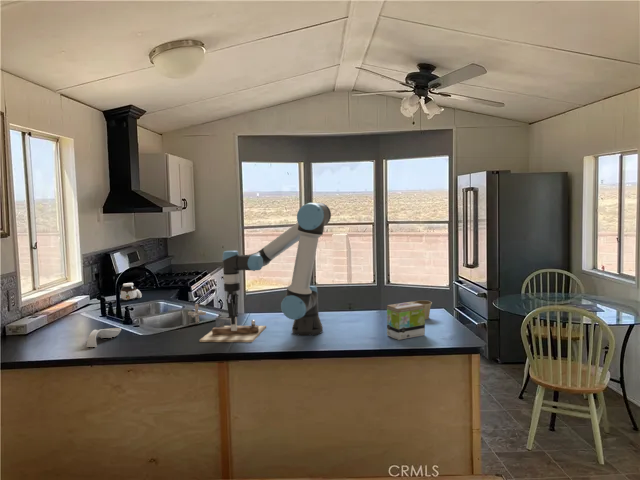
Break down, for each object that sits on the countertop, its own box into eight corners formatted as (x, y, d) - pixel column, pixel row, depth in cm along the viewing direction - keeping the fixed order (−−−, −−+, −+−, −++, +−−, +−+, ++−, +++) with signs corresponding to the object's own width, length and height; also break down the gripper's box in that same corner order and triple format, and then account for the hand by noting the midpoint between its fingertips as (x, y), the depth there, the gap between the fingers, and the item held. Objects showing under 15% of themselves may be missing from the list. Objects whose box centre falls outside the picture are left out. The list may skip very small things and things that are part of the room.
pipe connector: (201, 325, 257) (200, 306, 256) (184, 324, 259) (183, 306, 258) (209, 320, 266) (208, 302, 265) (193, 320, 268) (192, 302, 267)
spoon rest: (102, 334, 246) (101, 321, 245) (125, 333, 246) (124, 320, 245) (79, 348, 222) (78, 334, 222) (104, 348, 222) (103, 333, 222)
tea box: (399, 340, 214) (398, 308, 213) (386, 335, 223) (385, 304, 222) (425, 335, 221) (425, 304, 220) (412, 330, 230) (411, 300, 229)
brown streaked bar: (259, 330, 236) (258, 325, 236) (258, 332, 231) (257, 327, 231) (214, 332, 236) (213, 327, 236) (212, 334, 231) (211, 329, 231)
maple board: (266, 327, 246) (266, 325, 246) (252, 342, 221) (252, 339, 221) (218, 327, 250) (218, 325, 250) (199, 341, 225) (199, 339, 225)
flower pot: (434, 317, 253) (434, 301, 253) (428, 321, 245) (428, 304, 245) (418, 315, 258) (417, 299, 258) (411, 319, 251) (411, 303, 250)
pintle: (255, 325, 234) (255, 320, 234) (254, 326, 233) (254, 321, 232) (252, 325, 235) (251, 320, 234) (251, 326, 233) (250, 321, 233)
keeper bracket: (235, 328, 243) (234, 318, 243) (231, 329, 241) (230, 320, 240) (220, 325, 249) (219, 316, 249) (216, 327, 247) (215, 317, 246)
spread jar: (119, 301, 332) (118, 284, 331) (128, 297, 343) (127, 281, 342) (135, 301, 330) (134, 284, 329) (144, 297, 341) (142, 281, 340)
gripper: (228, 280, 236) (230, 327, 238) (220, 284, 223) (222, 334, 225) (242, 280, 236) (245, 327, 237) (235, 284, 223) (238, 333, 224)
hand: (234, 330), depth 231 cm, fingers closed
